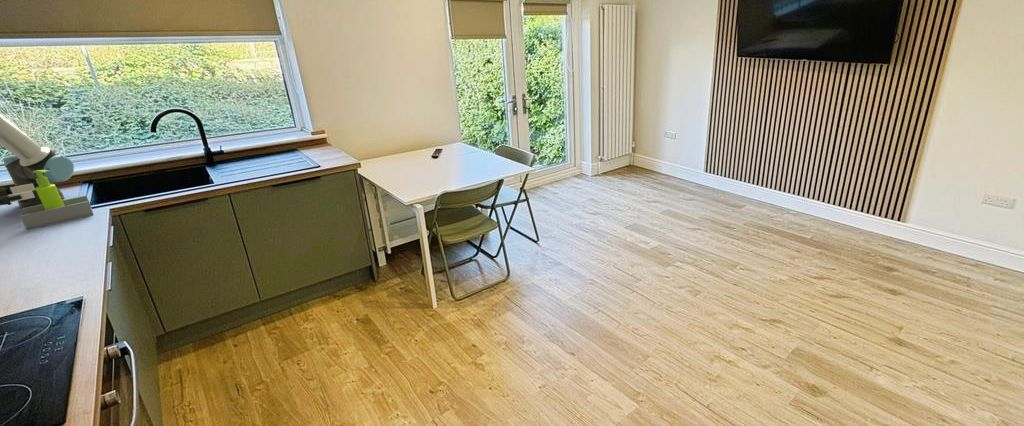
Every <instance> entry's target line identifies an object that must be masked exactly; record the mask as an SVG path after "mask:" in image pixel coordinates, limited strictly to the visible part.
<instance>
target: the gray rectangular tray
mask: <svg viewBox="0 0 1024 426" xmlns="http://www.w3.org/2000/svg"><path fill="white" fill-rule="evenodd" d="M62 201H63V203H64V205H65V206H62V207H58V208H53V209H48V210H45V208H44V206H43V204H41V205H37V206H32V207H27V208H21V210H22V213H23V214H21V215H20V218H21V220H22V221H23V222H22V223H23V224H24V225H25V228H26V230H27V231H29V230H34V229H38V228H43V227H46V226H51V225H54V224H55V225H56V224H59V223H64V222H68V221H73V220H78V219H81V218H86V216H87V217H90V216H89V215H91V216H94V212H93V207H92V205H91V203H90V201H89V199H88V196H87V195H81V196H76V197H72V198H66V199H62ZM91 207H92V208H91Z"/></svg>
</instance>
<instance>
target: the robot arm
mask: <svg viewBox="0 0 1024 426" xmlns="http://www.w3.org/2000/svg"><path fill="white" fill-rule="evenodd" d="M0 146H2V147H3V148H4V149H6V150H7V151H8V152H10V153H11V154H12V155H9V156H6V157H4V158H3V162H4V167H5V168H6V170H7V172H8V174H9V176H10V178H11V180H12V182H13V184H14V186H11V187H10V185H7V186H5V187H2V188H0V206H5V205H7V206H10V205H11V206H12V203H14V202H17V205H18V206H19V208H21V209H22V208H27V207H32V206H37V205H41V204H42V202H41V200H40V198H39V196H38V193H37V191H36V189H35V188H37V187H39V186H38V184H37V181H36V179H37V178H38V177H37V175H36V173H33V171H36V170H47V171H48V172H46V173H42V174H43V176H44V177H47V178H48V180H49V183H50V184H54V183H60V182H61V183H62V182H65V181H68V180H69V179H70V178H71V177H72V176H73V174H74V171H75V170H74V169H75V166H74V163H73V161H72V160H71V159H70V158H69V157H67V156H64V155H59V154H57V153H55V151H53V150H52V149H51V148H49V147H47V146H40V145H39V144H38V143H37V142H36V141H35V140H33V139H32V138H31V137H30V136H28V135H27V134H26V133H25V132H23V131H22V130H21V129H20V128H18V127H17V126H16V125H15V124H13V123H12V122H11V121H10V120H9V119H8V118H6V117H5V116H4V115H2V114H1V113H0ZM56 188H57V190H58V192H59V195H60V197H61V199H62V200H65V195H64V193H63V192H62V190H60V189H59V188H58V187H57V186H56Z"/></svg>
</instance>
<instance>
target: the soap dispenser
mask: <svg viewBox="0 0 1024 426" xmlns="http://www.w3.org/2000/svg"><path fill="white" fill-rule="evenodd" d="M46 172H48V171H47V170H36V171H33V173H36V175H37V177H38V178H37V179H36V181H37V184H38V186H39V187H37V188H35V189H36V191H37V193H38V196H39V198H40V200H41V202H42V204H43V206H44V208H45V210H48V209H53V208H58V207H62V206H65V205H64V203H63V201H62V200H63V199H61V197H60V195H59V192H58V190H57V188H58V187H57V186H56V184H54V183H53V184H50V183H49V180H48V178H47V177H44V176H43V174H42V173H46ZM56 187H57V188H56Z"/></svg>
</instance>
